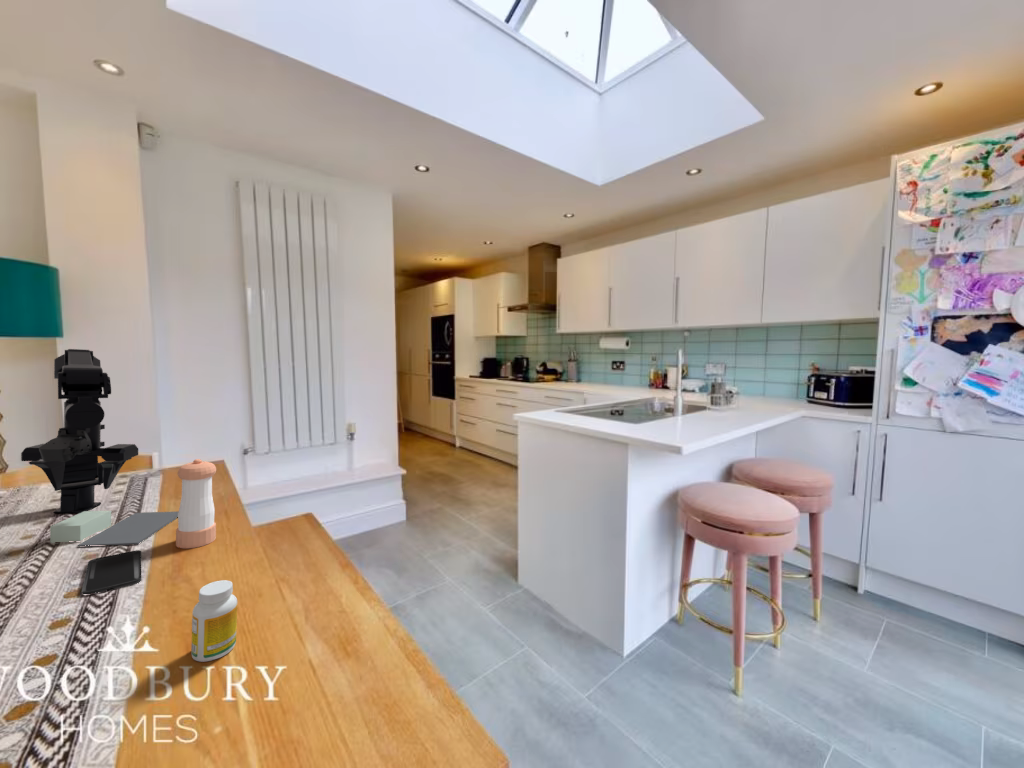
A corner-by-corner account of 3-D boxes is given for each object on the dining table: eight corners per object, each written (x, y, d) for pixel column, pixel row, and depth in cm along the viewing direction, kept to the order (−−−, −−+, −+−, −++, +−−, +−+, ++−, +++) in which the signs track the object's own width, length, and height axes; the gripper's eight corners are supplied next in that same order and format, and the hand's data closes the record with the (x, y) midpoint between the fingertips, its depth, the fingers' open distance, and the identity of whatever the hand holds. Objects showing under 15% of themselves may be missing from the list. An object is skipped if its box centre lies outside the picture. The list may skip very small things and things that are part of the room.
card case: (84, 527, 97) (84, 511, 97) (111, 526, 98) (111, 510, 98) (50, 544, 89) (50, 526, 88) (80, 543, 90) (80, 525, 89)
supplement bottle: (181, 661, 57) (182, 596, 57) (210, 636, 63) (212, 576, 62) (218, 664, 57) (219, 599, 57) (244, 639, 62) (246, 578, 62)
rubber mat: (136, 514, 106) (136, 512, 106) (184, 513, 108) (184, 511, 108) (77, 547, 87) (77, 545, 87) (138, 544, 90) (138, 542, 90)
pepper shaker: (187, 535, 96) (188, 455, 95) (221, 534, 97) (223, 455, 96) (168, 549, 89) (169, 463, 88) (205, 547, 90) (207, 463, 89)
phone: (141, 549, 87) (141, 579, 76) (141, 554, 87) (141, 584, 76) (87, 560, 81) (80, 593, 70) (87, 565, 81) (80, 600, 70)
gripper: (-5, 427, 82) (-5, 502, 83) (106, 428, 87) (105, 500, 87) (43, 419, 93) (44, 485, 94) (140, 420, 97) (139, 484, 98)
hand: (82, 489), depth 93 cm, fingers open, 9 cm apart
